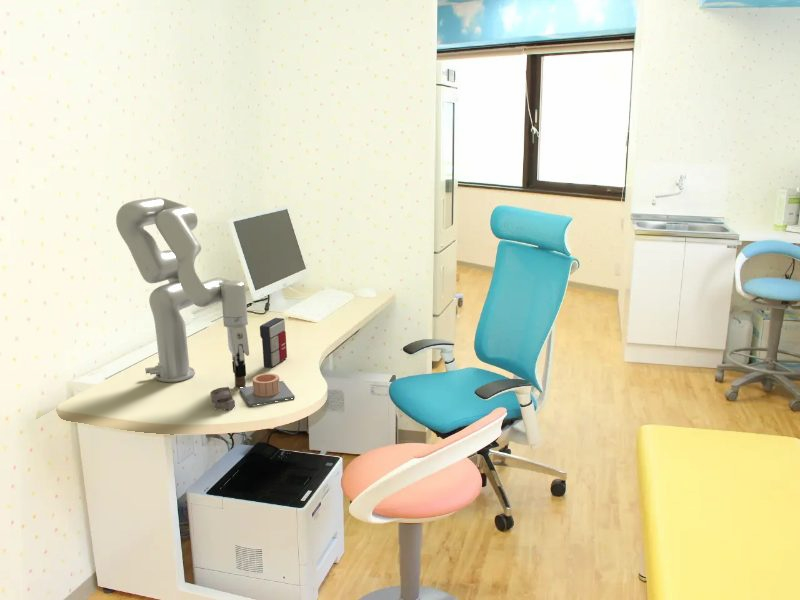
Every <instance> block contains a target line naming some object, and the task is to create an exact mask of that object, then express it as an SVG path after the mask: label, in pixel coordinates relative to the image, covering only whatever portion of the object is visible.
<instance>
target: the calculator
mask: <svg viewBox="0 0 800 600" xmlns="http://www.w3.org/2000/svg"><path fill="white" fill-rule="evenodd" d="M285 323H286V321H285V318H282V317H281V318H280V317H274V318H272V319H270V320H268V321H267V322H265V323H262V324H261V325H260V326H259V334H260V338H261V339H262V340H261V342H262V343H261V345H262V346H261V347H262V356H263V357H262V358H263V367H264V368H269V367H270V368H271V367H272V368H273V367H275V366H276V365H278V364H279V363H281V362H282V361H284V360H285V358H286V359H287V358H288V352H287V351H288V349H287V334H286V333H287V332H286V324H285ZM270 368H269V369H270ZM272 368H271V369H272Z"/></svg>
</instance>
